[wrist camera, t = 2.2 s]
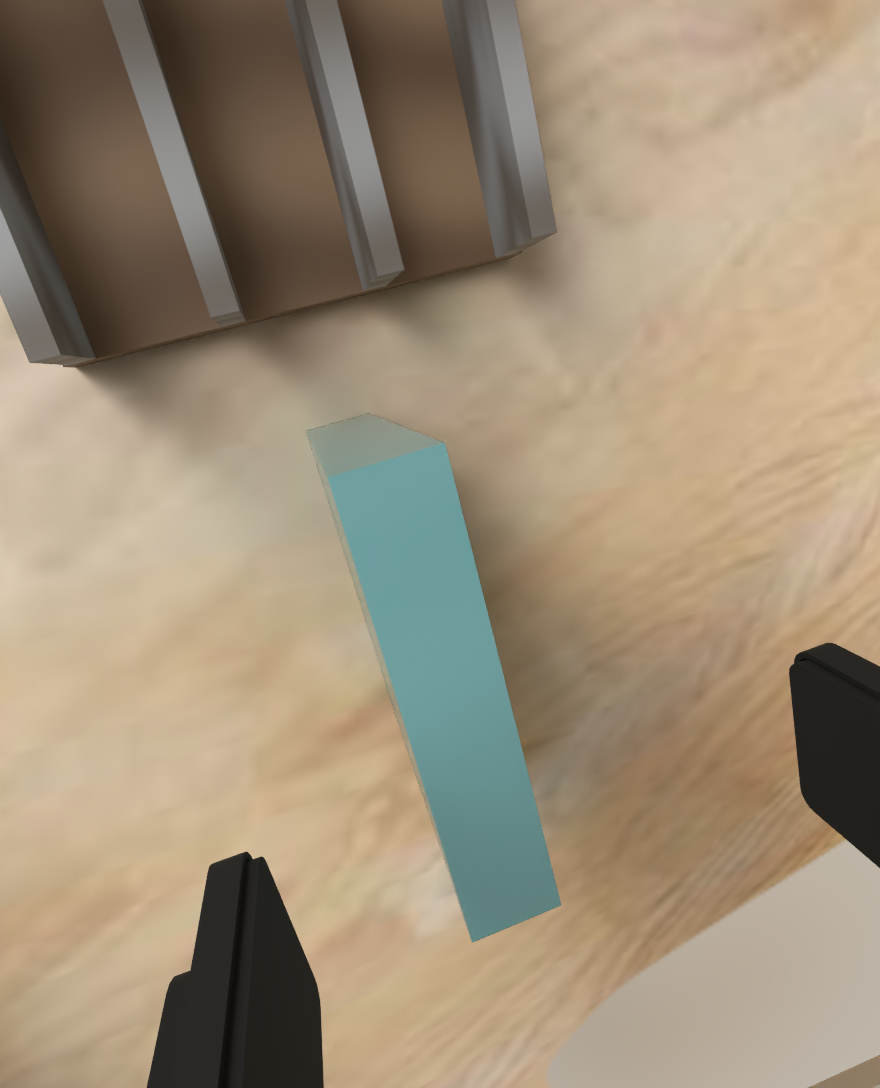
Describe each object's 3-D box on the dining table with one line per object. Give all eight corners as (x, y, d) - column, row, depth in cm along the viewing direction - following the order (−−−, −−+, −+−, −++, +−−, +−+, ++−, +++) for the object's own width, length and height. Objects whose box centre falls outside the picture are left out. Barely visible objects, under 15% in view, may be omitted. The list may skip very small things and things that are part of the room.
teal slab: (447, 690, 28) (561, 904, 16) (393, 709, 27) (472, 942, 16) (368, 412, 24) (445, 442, 13) (305, 430, 24) (327, 477, 13)
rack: (510, 257, 24) (562, 230, 20) (74, 367, 22) (21, 364, 17) (412, -226, 20) (449, -399, 16) (-139, -156, 18) (-281, -337, 13)
